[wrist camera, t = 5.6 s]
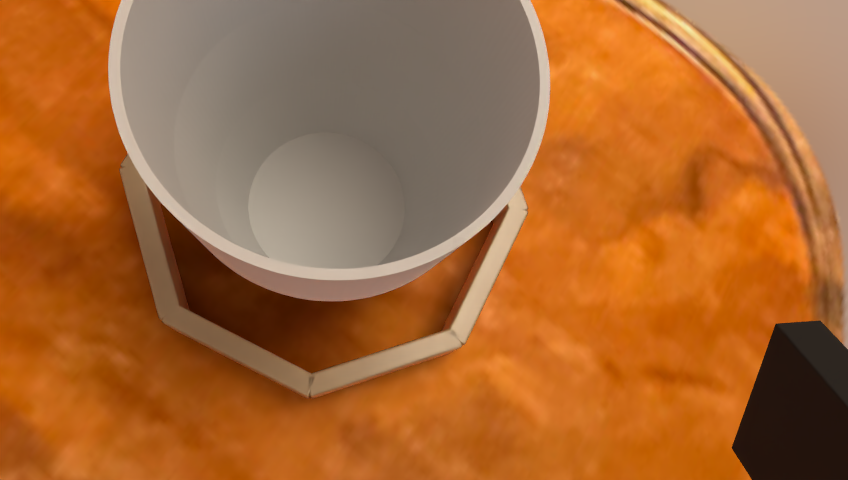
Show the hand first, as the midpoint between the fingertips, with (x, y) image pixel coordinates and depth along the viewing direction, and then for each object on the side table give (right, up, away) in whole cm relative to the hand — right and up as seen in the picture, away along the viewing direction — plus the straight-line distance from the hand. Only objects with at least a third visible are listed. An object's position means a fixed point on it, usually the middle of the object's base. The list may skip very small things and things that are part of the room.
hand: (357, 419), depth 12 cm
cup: (-2, +4, +12) cm, 13 cm away
